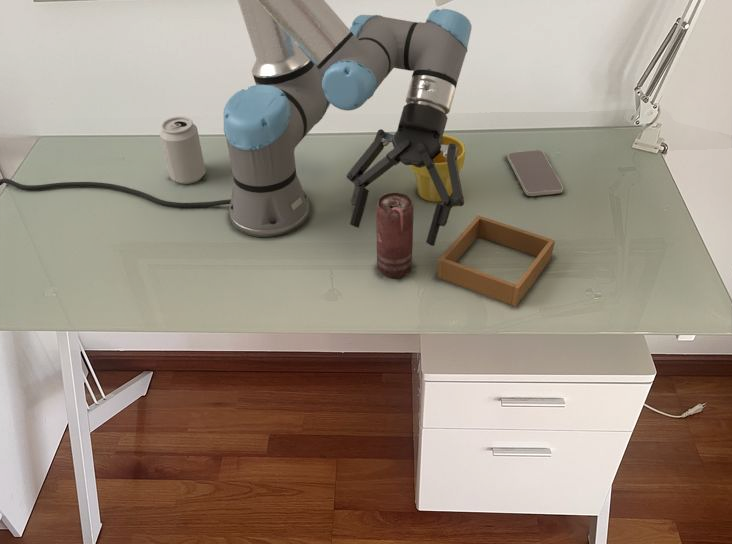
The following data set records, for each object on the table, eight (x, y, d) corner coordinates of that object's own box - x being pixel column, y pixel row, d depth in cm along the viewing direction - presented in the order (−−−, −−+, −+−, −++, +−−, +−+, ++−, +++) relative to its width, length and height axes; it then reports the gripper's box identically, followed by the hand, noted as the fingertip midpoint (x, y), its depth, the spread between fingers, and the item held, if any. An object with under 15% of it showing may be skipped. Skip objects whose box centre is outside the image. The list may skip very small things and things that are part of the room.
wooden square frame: (437, 277, 130) (438, 259, 128) (476, 233, 139) (477, 214, 136) (515, 306, 124) (518, 288, 121) (551, 258, 132) (555, 240, 130)
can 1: (213, 171, 157) (203, 119, 149) (190, 190, 153) (178, 136, 145) (186, 162, 161) (174, 110, 152) (162, 180, 156) (149, 127, 148)
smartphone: (541, 149, 156) (565, 189, 145) (541, 153, 156) (564, 193, 146) (506, 152, 155) (527, 193, 145) (505, 156, 156) (526, 197, 145)
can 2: (389, 284, 130) (389, 217, 120) (370, 264, 134) (369, 197, 124) (419, 272, 132) (421, 205, 122) (400, 253, 136) (401, 186, 126)
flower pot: (459, 209, 144) (463, 164, 137) (405, 205, 146) (406, 161, 139) (464, 179, 151) (467, 135, 144) (412, 176, 153) (413, 132, 146)
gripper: (350, 89, 125) (316, 214, 127) (497, 115, 117) (459, 248, 118) (363, 104, 132) (331, 222, 134) (503, 129, 124) (467, 255, 126)
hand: (391, 235), depth 126 cm, fingers open, 13 cm apart
